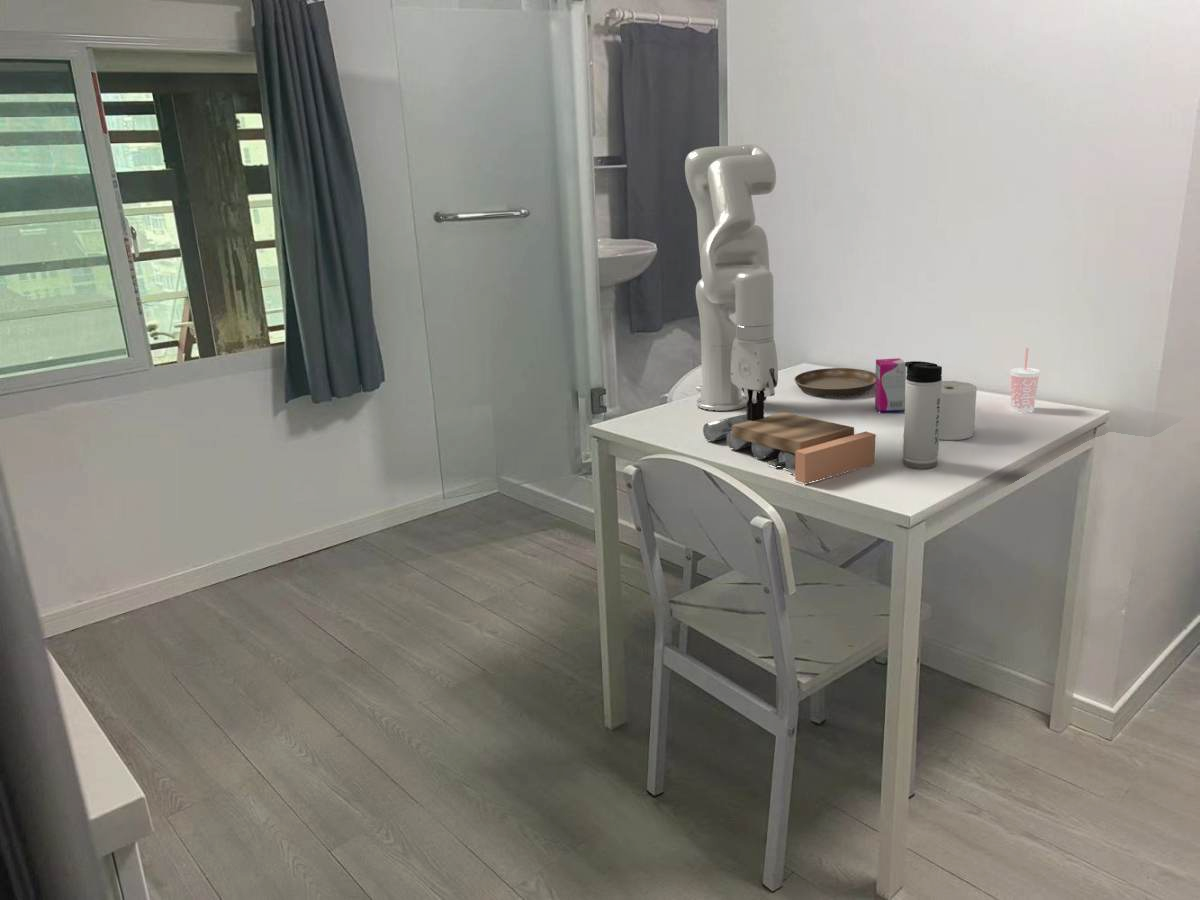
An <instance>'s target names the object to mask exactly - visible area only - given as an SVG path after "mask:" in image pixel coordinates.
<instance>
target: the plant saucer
mask: <svg viewBox="0 0 1200 900" xmlns="http://www.w3.org/2000/svg"><path fill="white" fill-rule="evenodd" d="M793 381H794V382H795V384H796V385H797V386H798V387H799V389H800V390H802V392H804V393H806V394H807V393H808V395H810V394H811V396H814V397H815V396H816V397H821V398H850V396H851V397H856V395H857V396H861V395H864V394H867V393H868V392H869V391H870V390H872V389H873V388H874V387H875V385H876V372H872V371H869V370H866V369H860V368H850V367H849V368H847V367H834V368H833V367H832V368H831V367H830V368H818V369H813V370H807V371H804V372H801V373H799V374H797V375H796V376H794V379H793Z"/></svg>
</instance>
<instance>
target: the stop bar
mask: <svg viewBox="0 0 1200 900" xmlns="http://www.w3.org/2000/svg"><path fill="white" fill-rule="evenodd" d="M876 436H877V435H876V433H873V432H868V431H862V432H859V433H854V435H851V436H847V437H844V438H840V439H837V440H833V441H829V442H826V443H822V444H818V445H815V446H811V447H808V448H804V449H800V450H797V451H795V476H794V477H795V479H794V480H797V481H799V482H802V483H804V484H805V483H809V482H812V481H816V480H820V479H823V478H827V477H830V476H833V477H835V476H834V475H837V474H840V475H842V474H841V473H843V474H845V473H844V472H847V471H850V472H852V471H851V470H853V471H855V470H854V469H856V470H859V469H858V468H860V469H862V467H863V468H866V467H869V465H870V466H873V465H875V463H876V439H877V438H876ZM865 466H866V467H865ZM847 473H848V472H847ZM837 476H838V475H837ZM830 478H831V477H830ZM827 479H828V478H827ZM823 480H824V479H823ZM820 481H821V480H820Z"/></svg>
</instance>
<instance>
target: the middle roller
mask: <svg viewBox="0 0 1200 900" xmlns="http://www.w3.org/2000/svg"><path fill="white" fill-rule="evenodd" d="M726 443H727V447H729V448H730V449H731V448H733V449H735V450H734V451H737V450H740V449H744V448H749V447H752V443H753V442H749V441H745V440H741V439H738V438H734V437H732V431H730V432H728V434H727V438H726Z"/></svg>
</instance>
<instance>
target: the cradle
mask: <svg viewBox="0 0 1200 900" xmlns="http://www.w3.org/2000/svg"><path fill="white" fill-rule="evenodd" d="M767 463H768V464H769V465H772V466H774V467H777V466H781V465H780V463H779V457H778V458H775V459H772V460H771V459H770V460H768V462H767ZM788 472H790V473H792V474H795V466H794V467H790V468H788V471H787V473H788Z"/></svg>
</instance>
